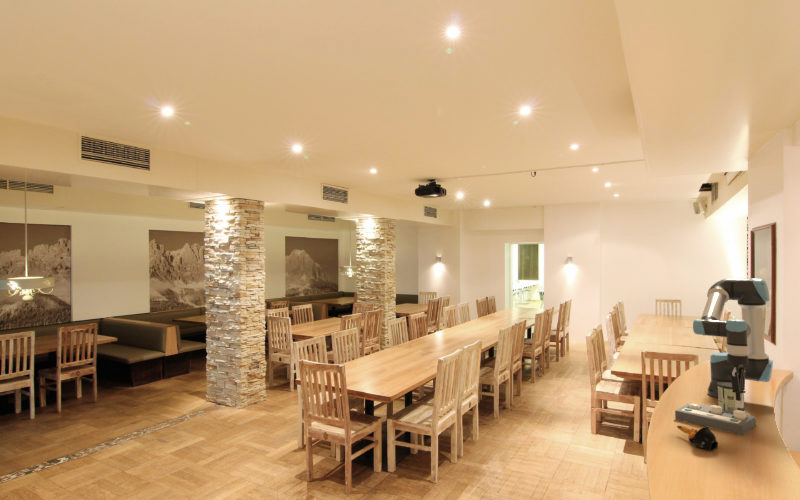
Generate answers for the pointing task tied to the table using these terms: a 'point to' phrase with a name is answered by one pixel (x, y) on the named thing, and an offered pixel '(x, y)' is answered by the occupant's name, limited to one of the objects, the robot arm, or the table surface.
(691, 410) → the button board
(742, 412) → the end button
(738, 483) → the table surface
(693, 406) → the end button
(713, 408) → the middle button
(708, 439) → the black bulb with handle
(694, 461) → the table surface
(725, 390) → the coffee can
